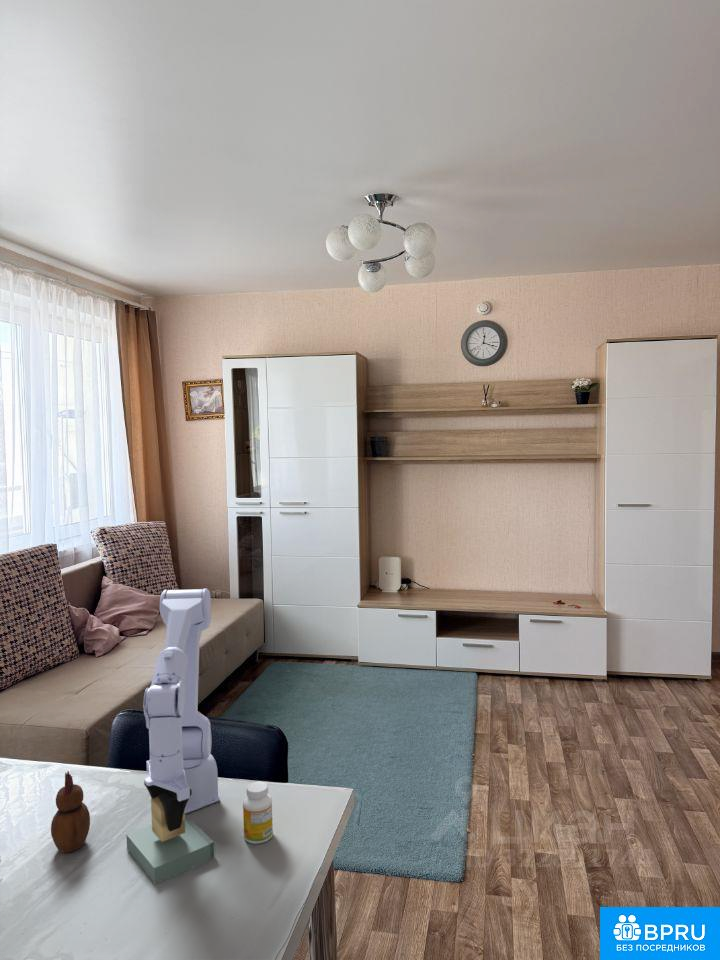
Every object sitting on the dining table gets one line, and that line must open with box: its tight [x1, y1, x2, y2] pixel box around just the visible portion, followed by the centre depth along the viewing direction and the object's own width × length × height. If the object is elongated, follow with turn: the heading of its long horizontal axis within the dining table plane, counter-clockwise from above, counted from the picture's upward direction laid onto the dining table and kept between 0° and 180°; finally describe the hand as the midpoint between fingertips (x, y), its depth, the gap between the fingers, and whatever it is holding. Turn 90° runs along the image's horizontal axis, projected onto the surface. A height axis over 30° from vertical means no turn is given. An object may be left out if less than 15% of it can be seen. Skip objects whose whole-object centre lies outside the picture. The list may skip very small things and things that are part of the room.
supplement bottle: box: [242, 781, 274, 845], centre depth 128 cm, size 5×5×10 cm
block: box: [150, 797, 186, 842], centre depth 123 cm, size 4×4×6 cm
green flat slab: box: [125, 814, 215, 884], centre depth 124 cm, size 11×13×3 cm
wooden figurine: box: [50, 770, 91, 853], centre depth 126 cm, size 7×6×15 cm
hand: (168, 822), depth 123 cm, fingers closed on block, 4 cm apart
